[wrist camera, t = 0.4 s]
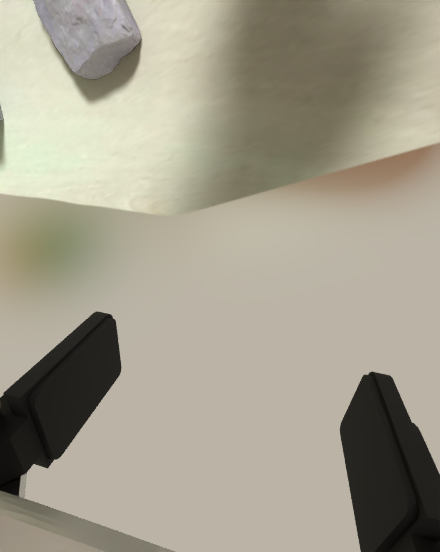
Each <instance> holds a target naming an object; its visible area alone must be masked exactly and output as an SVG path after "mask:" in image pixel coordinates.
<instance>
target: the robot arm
mask: <svg viewBox="0 0 440 552" xmlns="http://www.w3.org/2000/svg"><path fill="white" fill-rule="evenodd" d="M120 372H121V360H120V352H119V345H118V335H117V327H116V321H115V319H113V317H112V315H110V314H106V313H102V312H95V313H93V314H92V315H91V316H90V317H89V318H88V319H86V320H85V321H84V322H83V323H82V324H81V325H80V326H79V327H77V328H76V329H75V330H74V331H73V332H72V333H71V334H69V335H68V336H67V337H66V338H65V339H64V340H63V341H62V342H61V343H59V344H58V345H57V346H56V347H55V348H54V349H53V350H51V351H50V352H49V353H48V354H47V355H46V356H45V357H44V358H42V359H41V360H40V361H39V362H38V363H37V364H36V365H34V366H33V367H32V368H31V369H30V370H29V371H28V372H27V373H25V374H24V375H23V376H22V377H21V378H20V379H19V380H18V381H16V382H15V383H14V384H13V385H12V386H11V387H10V388H9V389H7V391H5V392H4V395H3V396H2V397H1V398H0V552H174V551H171V550H169V549H166V548H163V547H160V546H158V545H155V544H152V543H149V542H146V541H144V540H141V539H138V538H135V537H132V536H130V535H127V534H124V533H121V532H119V531H116V530H113V529H110V528H107V527H105V526H102V525H99V524H96V523H93V522H90V521H87V520H85V519H82V518H79V517H76V516H73V515H71V514H67V513H65V512H62V511H59V510H56V509H53V508H51V507H48V506H45V505H42V504H39V503H36V502H33V501H30V500H27V499H24V497H25V487H26V476H27V471H28V470H29V469H30V468H31V466H32V465H33V464H36V465H39V466H42V467H45V468H48V467H49V466H50V465H51V463H52V462H53V461H54V459H58V458H60V457H61V455H62V454H63V453H64V452H65V450H66V449H67V447H68V446H69V445H70V443H71V442H72V440H73V439H74V438H75V436H76V435H77V433H78V432H79V431H80V429H81V428H82V427H83V425H84V424H85V422H86V421H87V420H88V418H89V417H90V415H91V414H92V412H93V411H94V410H95V409H96V407H97V406H98V404H99V403H100V402H101V400H102V399H103V397H104V396H105V395H106V393H107V392H108V390H109V389H110V388H111V386H112V385H113V384H114V382H115V381H116V379H117V378H118V376H119V375H120ZM340 435H341V441H342V446H343V452H344V457H345V464H346V470H347V475H348V480H349V487H350V492H351V498H352V504H353V509H354V515H355V521H356V526H357V532H358V538H359V544H360V549H361V552H440V474H439V472H438V470H437V468H436V465H435V463H434V461H433V459H432V457H431V454H430V452H429V450H428V448H427V445H426V443H425V441H424V439H423V437H422V435H421V432H420V430H419V429H418V427H417V426H416V425H415V424H414V423H412V422H411V420H410V417H409V415H408V413H407V410H406V408H405V406H404V404H403V401H402V399H401V397H400V394H399V392H398V390H397V387H396V385H395V383H394V381H393V379H392V377H391V376H389V375H385V374H380V373H375V372H370V373H369V375H364V376H363V377H362V379H361V381H360V384H359V386H358V388H357V390H356V392H355V394H354V396H353V398H352V401H351V403H350V405H349V407H348V409H347V411H346V413H345V416H344V418H343V420H342V422H341V426H340Z"/></svg>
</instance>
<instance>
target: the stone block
mask: <svg viewBox="0 0 440 552" xmlns="http://www.w3.org/2000/svg"><path fill="white" fill-rule="evenodd" d="M33 1H34V4H35V7H36V11H37V13H38V15H39V17H40V19H41V21H42V23H43V25H44V27H45V29H46V30H47V32H48V34H49V35H50V36H51V38H52V40H53V42H54V45H55V46H56V48H57V49H58V51H59V52H60V53H61V55H62V56H63V57H64V60H65V61H66V62H67V64H68V65H69V67H70V68H71V69H72V71H73V72H74V73H76V74H77V75H79V76H81V77H83V78H88V79H99V78H100V77H102V76H105V75H108V74H109V73H111V72H112V70H113V69H114V68H115V66H116V65H118V63H119V61H120V59H122V58H123V57H124V56H126V55H127V54H129V53H130V52H131V51H132V50H133V49H134V48H135V46H136V45H138V44H139V42H140V41H141V34H140V31H139V29H138V26H137V24H136V22H135V20H134V18H133V16H132V14H131V11H130V9H129V7H128V5H127V3H126V1H125V0H33Z"/></svg>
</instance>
